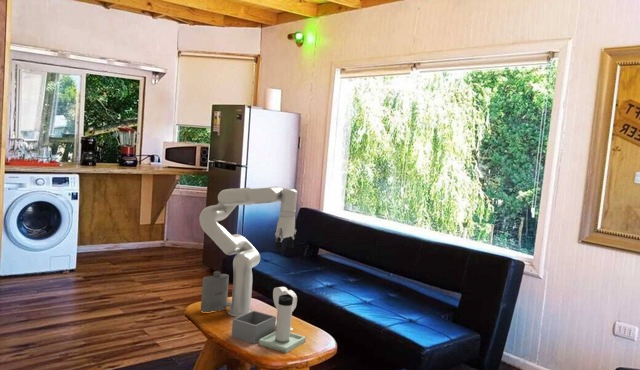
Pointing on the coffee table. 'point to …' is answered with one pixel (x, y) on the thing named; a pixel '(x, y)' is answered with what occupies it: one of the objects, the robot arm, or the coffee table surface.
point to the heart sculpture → (283, 291)
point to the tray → (283, 347)
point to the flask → (214, 292)
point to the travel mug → (284, 318)
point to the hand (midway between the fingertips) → (284, 248)
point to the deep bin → (253, 326)
